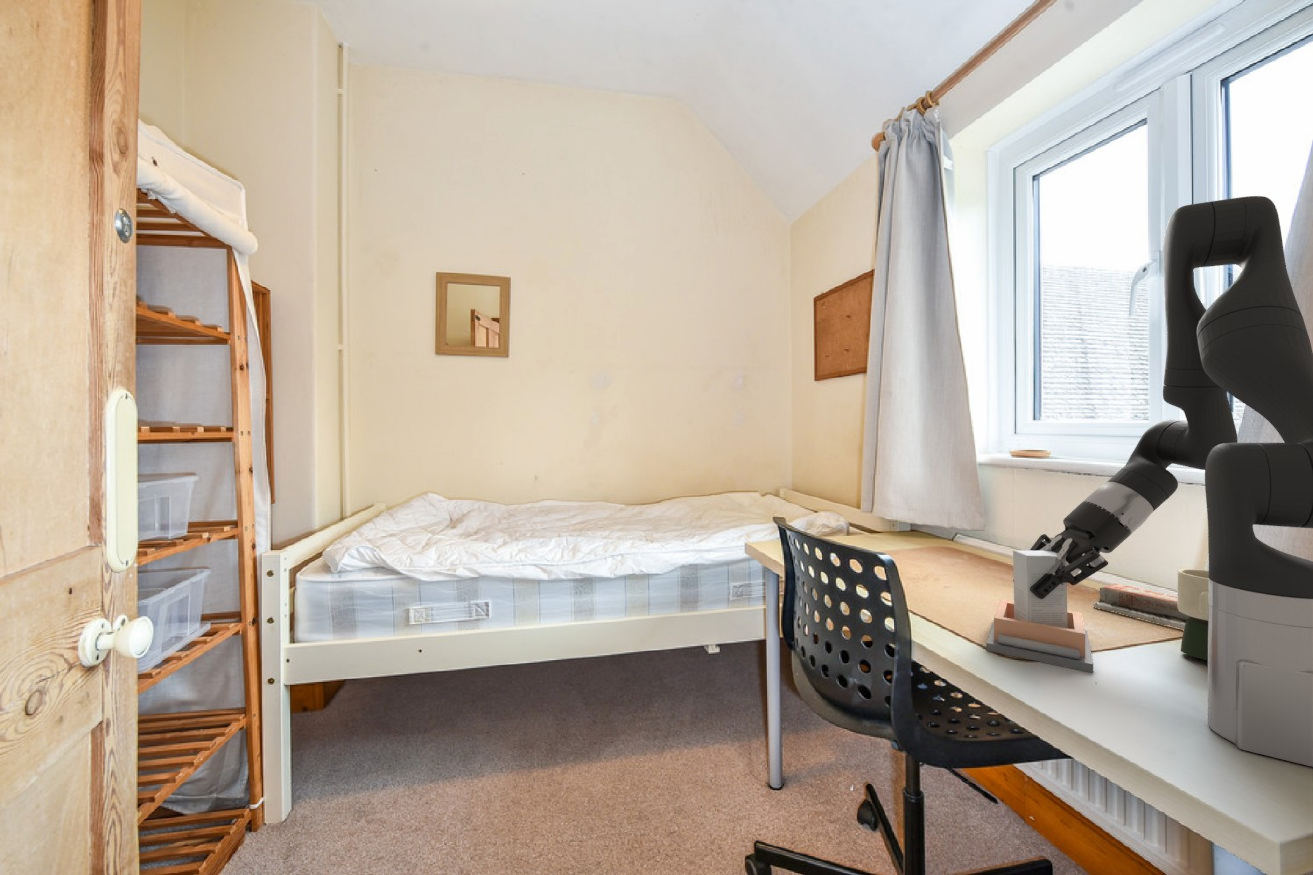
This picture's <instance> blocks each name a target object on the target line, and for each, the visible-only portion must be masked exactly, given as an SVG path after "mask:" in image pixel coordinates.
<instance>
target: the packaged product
mask: <svg viewBox="0 0 1313 875" xmlns="http://www.w3.org/2000/svg"><path fill="white" fill-rule="evenodd" d="M1177 599H1178V596H1174V595H1169V594H1164V593H1160V592H1156V591H1151V590H1147V589H1143V588H1139V587H1134V586H1129V585H1125V584H1120V583H1113V584H1108V585H1104V586H1101V587H1099V600H1097V601H1094V603H1093V606H1094V607H1096V608H1100V609H1103V610H1102V611H1104V610H1107V611H1106V612H1108V611H1114V612H1117V613H1121V614H1124V615H1128V616H1131V617H1134V618H1140V619H1144V620H1148V621H1151V622H1154V623H1159V624H1162V625H1170V626H1173V627H1177V628H1180V629H1184V627H1185V622H1186V621H1187V620H1188V618H1189V617H1191V616H1188V615H1186V614H1184V613H1182V612H1180V611H1179V610H1178V606H1177ZM1094 607H1093V608H1094ZM1096 608H1095V609H1096ZM1100 609H1099V610H1100ZM1131 617H1130V618H1131ZM1134 618H1133V619H1134ZM1154 623H1153V624H1154Z"/></svg>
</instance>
